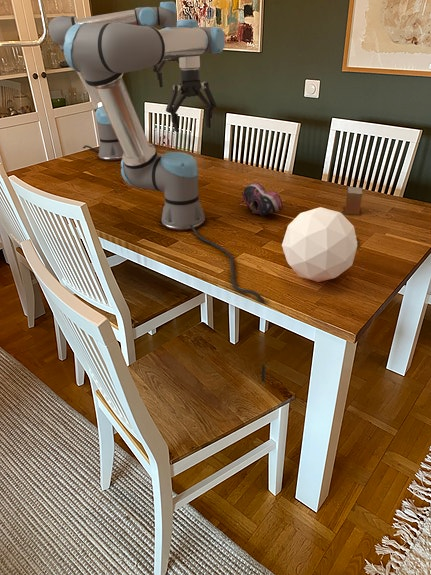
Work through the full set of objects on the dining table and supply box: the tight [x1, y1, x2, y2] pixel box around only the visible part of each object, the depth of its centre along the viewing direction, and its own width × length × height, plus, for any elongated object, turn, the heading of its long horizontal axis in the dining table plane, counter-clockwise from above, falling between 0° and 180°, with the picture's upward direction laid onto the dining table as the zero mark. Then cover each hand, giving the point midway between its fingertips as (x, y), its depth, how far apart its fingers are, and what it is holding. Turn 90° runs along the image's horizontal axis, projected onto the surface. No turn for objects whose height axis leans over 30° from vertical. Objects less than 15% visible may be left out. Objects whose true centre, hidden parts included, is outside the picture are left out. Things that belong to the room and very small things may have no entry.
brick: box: [344, 186, 363, 216], centre depth 158 cm, size 6×5×8 cm
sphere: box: [281, 206, 358, 283], centre depth 118 cm, size 19×20×20 cm
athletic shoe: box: [238, 182, 284, 217], centre depth 160 cm, size 11×22×12 cm
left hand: (173, 87), depth 226 cm, fingers open, 13 cm apart
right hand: (192, 129), depth 172 cm, fingers open, 13 cm apart
